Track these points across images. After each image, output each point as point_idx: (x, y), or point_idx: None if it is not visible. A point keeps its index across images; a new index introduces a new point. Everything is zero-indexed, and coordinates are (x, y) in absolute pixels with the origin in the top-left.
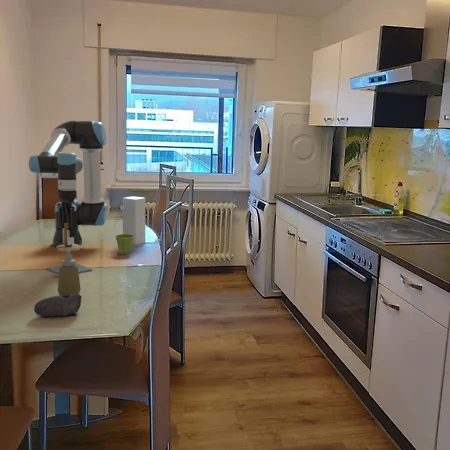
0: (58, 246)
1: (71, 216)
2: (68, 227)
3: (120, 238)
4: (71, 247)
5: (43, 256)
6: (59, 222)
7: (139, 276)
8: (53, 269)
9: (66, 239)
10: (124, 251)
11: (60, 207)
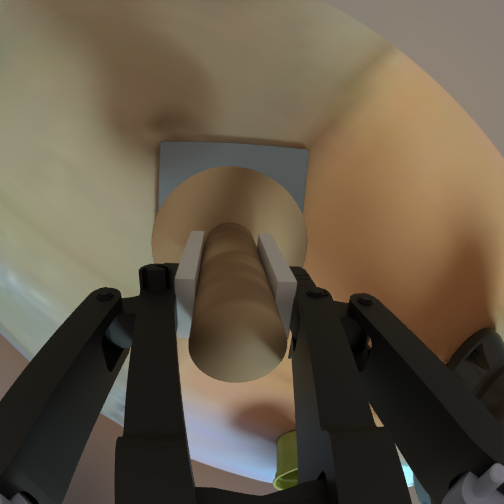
0: (268, 193)
1: (27, 388)
2: (165, 295)
3: (293, 468)
4: (184, 243)
5: (451, 250)
6: (388, 310)
7: (37, 337)
8: (264, 157)
9: (215, 242)
10: (282, 441)
11: (481, 465)
